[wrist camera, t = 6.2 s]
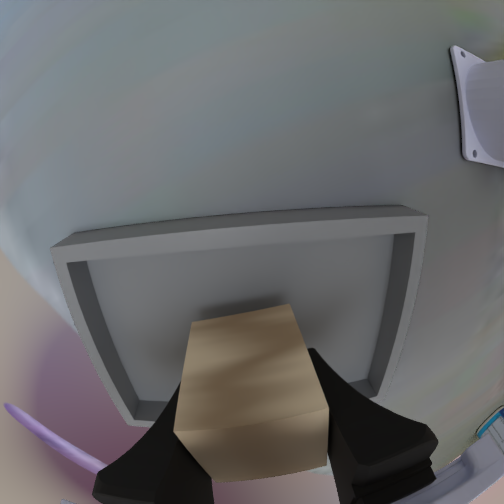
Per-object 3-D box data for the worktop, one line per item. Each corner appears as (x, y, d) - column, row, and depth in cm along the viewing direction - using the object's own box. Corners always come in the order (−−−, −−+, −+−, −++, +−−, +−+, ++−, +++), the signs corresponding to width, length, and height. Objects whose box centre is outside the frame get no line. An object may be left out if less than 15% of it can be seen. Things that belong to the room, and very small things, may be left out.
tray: (401, 205, 13) (428, 215, 11) (371, 377, 18) (384, 399, 16) (74, 232, 13) (50, 247, 10) (135, 400, 17) (127, 425, 15)
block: (289, 303, 12) (329, 408, 6) (298, 371, 14) (326, 465, 8) (191, 322, 12) (173, 431, 6) (216, 386, 14) (215, 482, 8)
